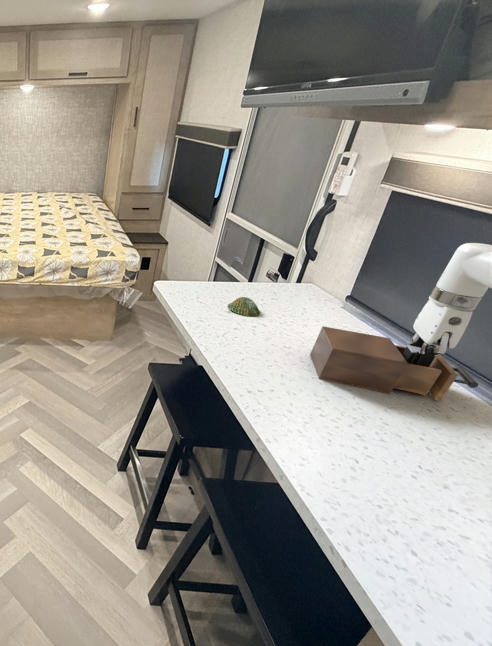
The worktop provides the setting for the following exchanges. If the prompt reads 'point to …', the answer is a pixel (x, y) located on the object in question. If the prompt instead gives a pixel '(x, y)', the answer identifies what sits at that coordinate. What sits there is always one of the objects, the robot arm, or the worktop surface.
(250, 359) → the worktop surface
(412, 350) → the block
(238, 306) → the seashell
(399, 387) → the drawer
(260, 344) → the worktop surface
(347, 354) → the cabinet
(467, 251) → the robot arm
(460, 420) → the worktop surface
